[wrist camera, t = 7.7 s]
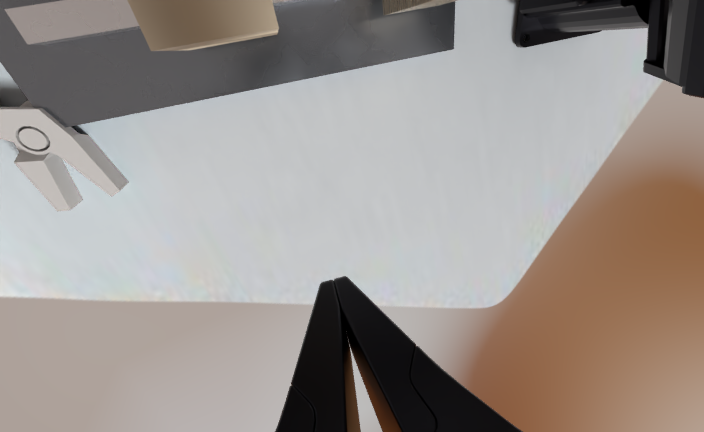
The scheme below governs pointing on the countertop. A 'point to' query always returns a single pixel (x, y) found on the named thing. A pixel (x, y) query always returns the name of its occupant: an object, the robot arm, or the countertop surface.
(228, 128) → the countertop surface
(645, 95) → the countertop surface
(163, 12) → the block
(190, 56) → the plate
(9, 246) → the countertop surface
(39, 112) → the pliers
